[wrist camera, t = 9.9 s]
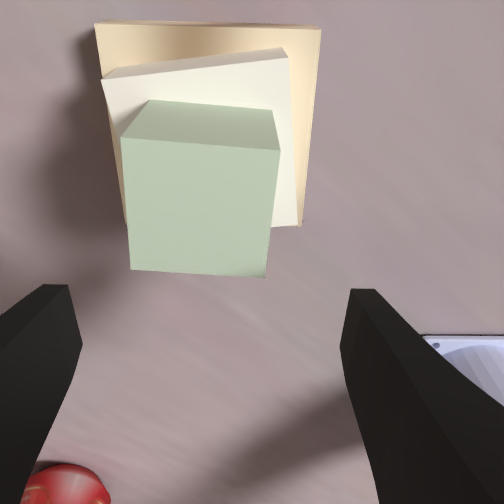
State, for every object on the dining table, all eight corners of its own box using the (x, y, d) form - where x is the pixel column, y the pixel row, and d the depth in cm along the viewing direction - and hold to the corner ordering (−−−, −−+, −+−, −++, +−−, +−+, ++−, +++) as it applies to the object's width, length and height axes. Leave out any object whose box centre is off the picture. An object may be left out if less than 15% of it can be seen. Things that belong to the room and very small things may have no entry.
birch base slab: (311, 23, 17) (321, 29, 15) (295, 202, 21) (301, 226, 19) (112, 18, 17) (94, 23, 15) (136, 199, 21) (125, 223, 19)
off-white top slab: (282, 46, 15) (288, 57, 13) (291, 196, 19) (297, 224, 16) (119, 66, 16) (100, 79, 13) (156, 211, 19) (146, 240, 17)
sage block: (272, 109, 14) (280, 150, 11) (260, 216, 16) (264, 278, 13) (150, 98, 14) (120, 137, 10) (154, 208, 16) (130, 269, 13)
